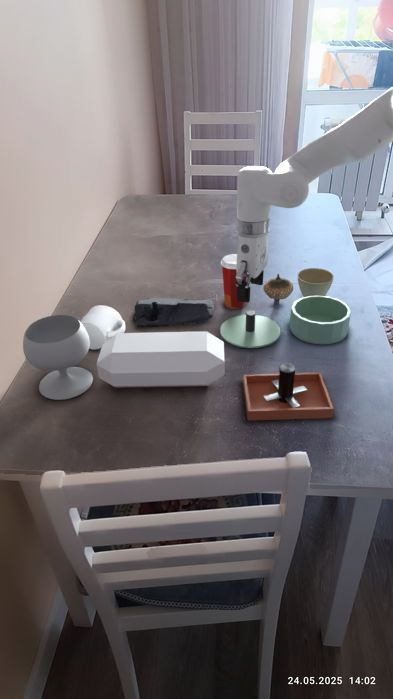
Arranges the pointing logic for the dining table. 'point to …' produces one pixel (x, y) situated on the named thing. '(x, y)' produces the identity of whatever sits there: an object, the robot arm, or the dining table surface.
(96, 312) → the mug
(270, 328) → the lid
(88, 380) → the chalice
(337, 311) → the bowl
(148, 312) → the dark slate chunk
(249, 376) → the tray
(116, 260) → the dining table surface
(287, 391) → the blade
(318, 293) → the flower pot
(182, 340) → the crystal
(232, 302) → the paper cup
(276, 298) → the acorn
